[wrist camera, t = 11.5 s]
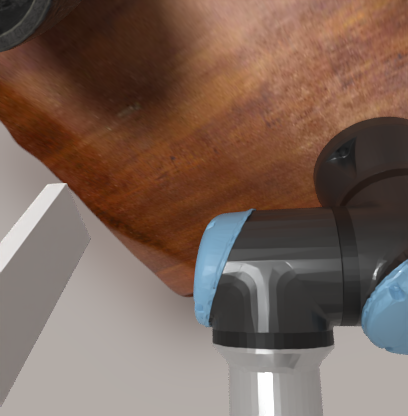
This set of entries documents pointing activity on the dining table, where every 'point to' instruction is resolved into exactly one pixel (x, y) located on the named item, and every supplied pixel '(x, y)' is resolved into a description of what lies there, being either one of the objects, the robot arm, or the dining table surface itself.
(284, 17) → the dining table surface
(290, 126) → the dining table surface
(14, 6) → the planter
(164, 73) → the dining table surface
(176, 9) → the dining table surface
